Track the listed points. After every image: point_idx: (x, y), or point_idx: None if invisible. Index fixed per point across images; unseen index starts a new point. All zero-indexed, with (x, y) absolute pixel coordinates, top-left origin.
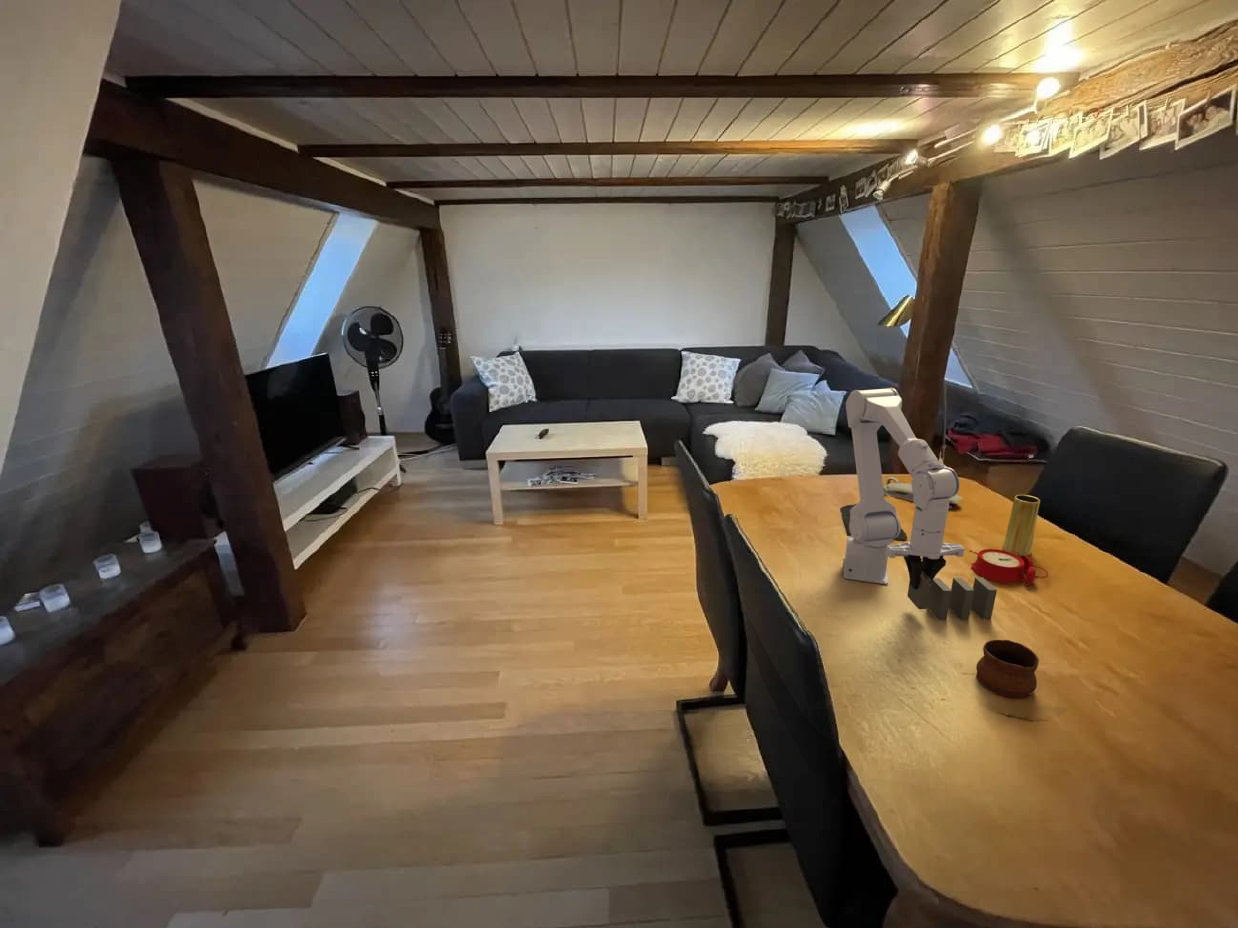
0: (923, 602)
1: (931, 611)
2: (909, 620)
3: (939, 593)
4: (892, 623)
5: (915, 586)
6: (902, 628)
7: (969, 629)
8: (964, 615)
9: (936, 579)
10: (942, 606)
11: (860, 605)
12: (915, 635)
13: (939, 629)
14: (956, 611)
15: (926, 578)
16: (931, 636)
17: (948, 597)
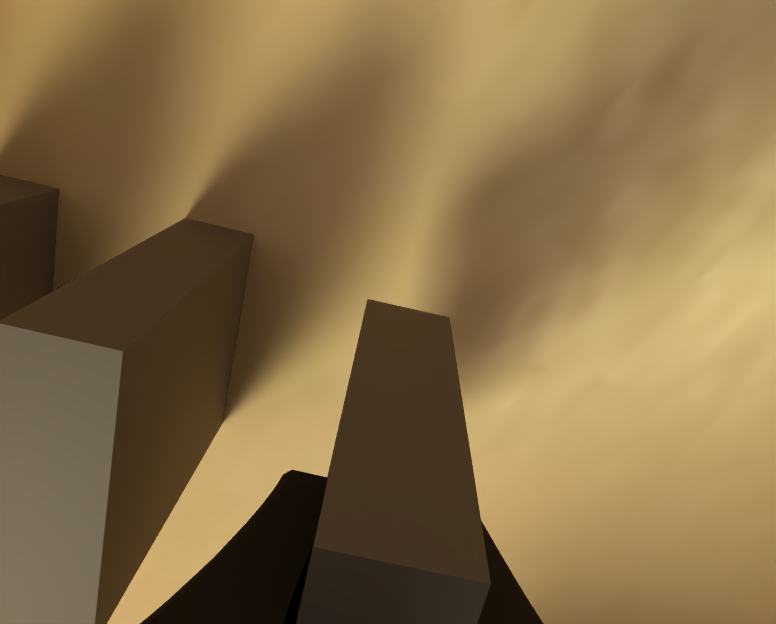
0: (409, 339)
1: (232, 355)
2: (501, 297)
3: (155, 390)
4: (675, 297)
5: (489, 535)
6: (651, 210)
7: (69, 36)
8: (4, 189)
9: (45, 608)
10: (195, 268)
11: (724, 565)
12: (623, 83)
13: (341, 110)
14: (34, 276)
15: (402, 587)
16: (492, 28)
17: (91, 291)
